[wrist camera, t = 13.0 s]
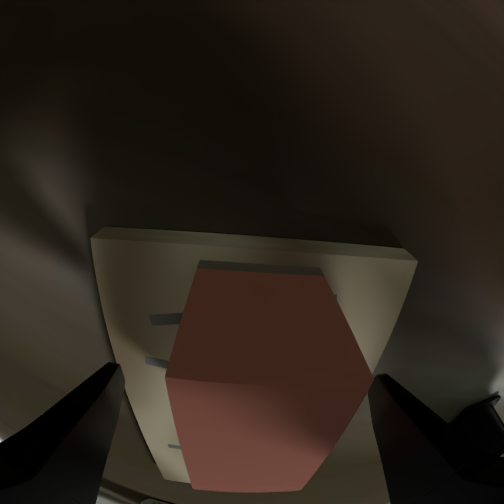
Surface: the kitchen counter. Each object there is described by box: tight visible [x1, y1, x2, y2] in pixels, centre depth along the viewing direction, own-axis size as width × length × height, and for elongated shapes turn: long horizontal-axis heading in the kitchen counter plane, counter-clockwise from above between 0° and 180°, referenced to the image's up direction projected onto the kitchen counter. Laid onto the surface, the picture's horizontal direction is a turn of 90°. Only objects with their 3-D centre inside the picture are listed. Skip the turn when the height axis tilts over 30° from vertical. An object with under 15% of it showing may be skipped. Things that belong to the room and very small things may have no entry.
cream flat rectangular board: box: [90, 227, 418, 483], centre depth 14 cm, size 12×22×1 cm, turn 175°
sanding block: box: [165, 260, 374, 492], centre depth 8 cm, size 4×7×5 cm, turn 175°
